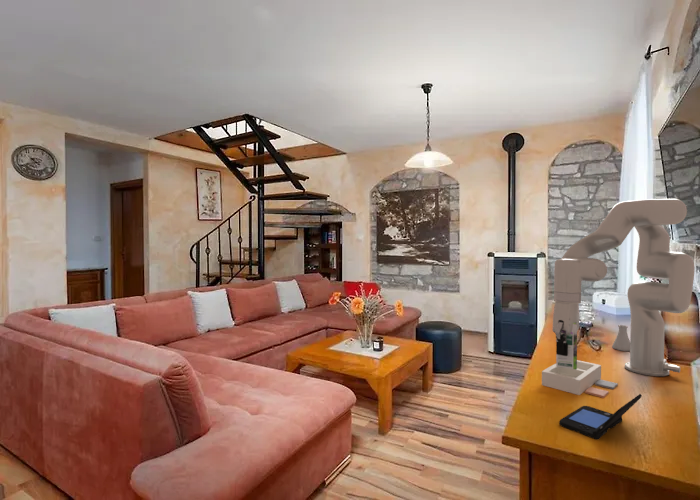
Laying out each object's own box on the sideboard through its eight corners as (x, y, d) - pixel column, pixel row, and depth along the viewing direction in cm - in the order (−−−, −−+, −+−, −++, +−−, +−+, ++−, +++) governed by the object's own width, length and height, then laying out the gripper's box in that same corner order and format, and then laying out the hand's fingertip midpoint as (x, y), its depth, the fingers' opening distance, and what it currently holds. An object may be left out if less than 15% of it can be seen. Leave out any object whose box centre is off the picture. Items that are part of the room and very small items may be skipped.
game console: (584, 409, 107) (584, 377, 107) (643, 429, 96) (643, 393, 96) (556, 426, 98) (557, 390, 98) (618, 449, 87) (619, 410, 87)
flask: (637, 351, 160) (637, 327, 159) (619, 351, 160) (619, 327, 160) (625, 346, 167) (625, 323, 167) (608, 346, 167) (608, 323, 167)
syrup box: (556, 367, 123) (556, 322, 122) (556, 362, 128) (556, 318, 128) (576, 370, 120) (577, 323, 120) (575, 364, 125) (576, 320, 125)
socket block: (620, 382, 126) (620, 369, 126) (600, 400, 112) (600, 385, 112) (565, 370, 138) (565, 357, 138) (541, 385, 125) (541, 371, 125)
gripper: (565, 293, 132) (564, 345, 132) (543, 299, 120) (543, 355, 121) (589, 296, 126) (588, 349, 127) (570, 301, 115) (569, 361, 115)
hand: (566, 352), depth 124 cm, fingers closed on syrup box, 7 cm apart
